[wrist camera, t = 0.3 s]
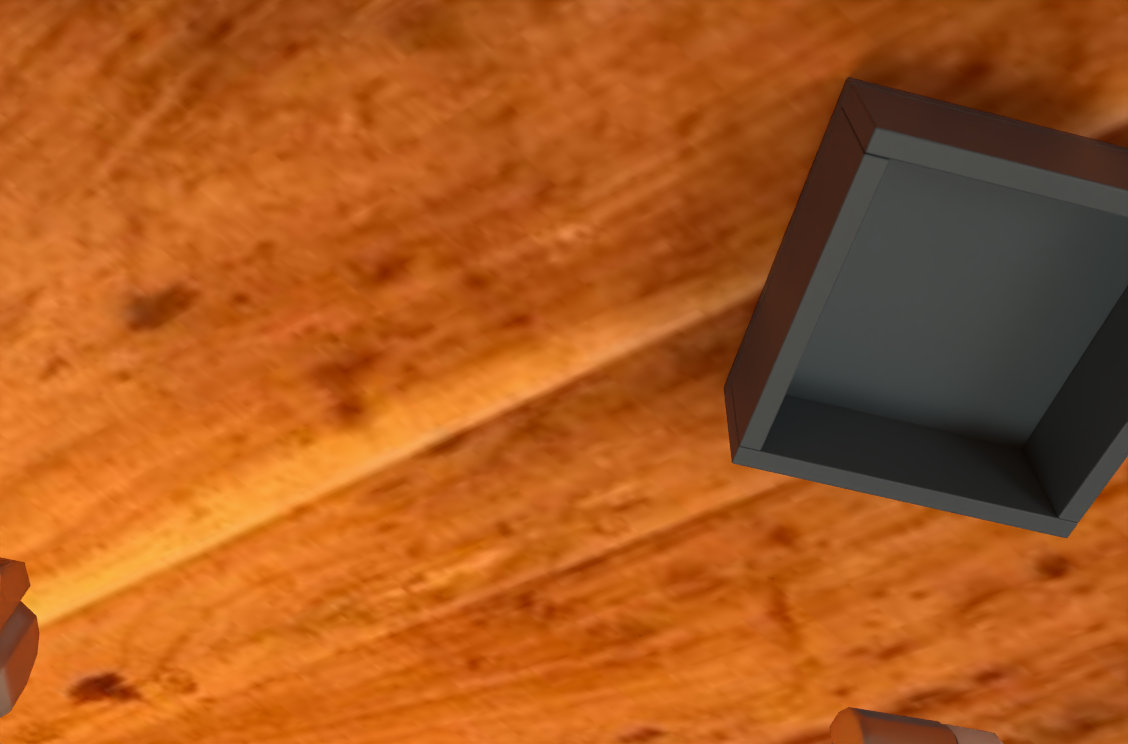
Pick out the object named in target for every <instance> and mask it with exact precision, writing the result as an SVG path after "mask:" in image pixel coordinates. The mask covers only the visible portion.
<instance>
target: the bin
mask: <svg viewBox="0 0 1128 744" xmlns="http://www.w3.org/2000/svg"><path fill="white" fill-rule="evenodd" d="M724 394H725V404H726V413H727V422H728V431H729V440H730V449H731V458H732V463H734V464H738V465H743V466H747V467H752V468H756V469H760V470H765V471H769V472H774V473H778V474H783V475H787V476H792V477H796V478H801V479H805V480H809V481H814V482H818V483H823V484H827V485H832V486H836V487H841V488H845V489H850V490H854V491H858V492H863V493H867V494H872V495H876V496H881V497H885V498H890V499H894V500H899V501H903V502H907V503H912V504H916V505H921V506H925V507H930V508H934V509H939V510H943V511H947V512H952V513H956V514H961V515H965V516H970V517H974V518H979V519H983V520H988V521H992V522H996V523H1001V524H1005V525H1010V526H1014V527H1019V528H1023V529H1028V530H1032V531H1037V532H1041V533H1045V534H1050V535H1054V536H1059V537H1063V538H1067V537H1068V536H1069V535H1070V533H1071V532H1072V531H1073V529H1074V528H1075V527H1076V525H1077V524H1078V522H1079V521H1080V520H1081V518H1082V517H1083V516H1084V514H1085V513H1086V512H1087V510H1088V509H1089V508H1090V506H1091V505H1092V503H1093V502H1094V501H1095V499H1096V498H1097V497H1098V495H1099V494H1100V493H1101V491H1102V490H1103V489H1104V487H1105V486H1106V485H1107V483H1108V482H1109V480H1110V479H1111V478H1112V476H1113V475H1114V474H1115V472H1116V471H1117V470H1118V468H1119V467H1120V466H1121V464H1122V463H1123V462H1124V460H1125V459H1126V457H1127V456H1128V148H1126V147H1122V146H1118V145H1114V144H1110V143H1106V142H1102V141H1098V140H1094V139H1090V138H1086V137H1082V136H1079V135H1075V134H1071V133H1067V132H1063V131H1059V130H1055V129H1051V128H1047V127H1043V126H1039V125H1035V124H1031V123H1027V122H1023V121H1019V120H1015V119H1012V118H1008V117H1004V116H1000V115H996V114H992V113H988V112H984V111H980V110H976V109H972V108H968V107H964V106H960V105H956V104H952V103H948V102H945V101H941V100H937V99H933V98H929V97H925V96H921V95H917V94H913V93H909V92H905V91H901V90H897V89H893V88H889V87H885V86H882V85H878V84H874V83H870V82H866V81H862V80H858V79H854V78H848V79H847V80H846V83H845V85H844V88H843V90H842V93H841V95H840V98H839V100H838V103H837V105H836V108H835V110H834V113H833V115H832V118H831V120H830V123H829V125H828V128H827V130H826V133H825V135H824V138H823V140H822V143H821V145H820V148H819V150H818V153H817V156H816V158H815V161H814V163H813V166H812V168H811V171H810V173H809V176H808V178H807V181H806V183H805V186H804V188H803V191H802V193H801V196H800V198H799V201H798V203H797V206H796V208H795V211H794V213H793V216H792V218H791V221H790V223H789V226H788V228H787V231H786V233H785V236H784V238H783V241H782V243H781V246H780V248H779V251H778V253H777V256H776V258H775V261H774V263H773V266H772V268H771V271H770V273H769V276H768V279H767V281H766V284H765V286H764V289H763V291H762V294H761V296H760V299H759V301H758V304H757V306H756V309H755V311H754V314H753V316H752V319H751V321H750V324H749V326H748V329H747V331H746V334H745V336H744V339H743V341H742V344H741V346H740V349H739V351H738V354H737V356H736V359H735V361H734V364H733V366H732V369H731V371H730V374H729V376H728V379H727V381H726V384H725V386H724Z"/></svg>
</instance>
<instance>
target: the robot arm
mask: <svg viewBox="0 0 1128 744" xmlns="http://www.w3.org/2000/svg"><path fill="white" fill-rule="evenodd" d="M29 587H30V582H29V578H28V574H27V570H26V566H25V563H24V562H20V561H15V560H10V559H5V558H0V718H1V717H2V716H4V715H5V714H7V713H9V712H10V711H11V710H12V708H13V706H14V705H15V703H16V701H17V700H18V698H19V696H20V695H21V693H22V691H23V690H24V688H25V686H26V685H27V682H28V679H29V676H30V673H31V670H32V668H33V665H34V662H35V659H36V656H37V651H38V641H39V628H38V623H37V617H36V615H35V614H34V613H33V612H32V611H31V610H30V609H28V608H27V607H26V606H25V605H24V604H23V603H22V602H21V601H20V600H21V599H22V597H23V596H24V594H25V593H26V591H27V590H28V588H29ZM830 732H831V738H832V743H833V744H1003V743H1002V742H1001V741H1000V739H999V738H998V737H997V736H996V734H995V733H991V732H987V731H983V730H977V729H970V728H964V727H958V726H952V725H946V724H941V723H940V722H937V721H931V720H925V719H919V718H913V717H907V716H900V715H894V714H888V713H882V712H876V711H870V710H864V709H857V708H851V707H848V708H846V709H844V710H842V711H840V712H839V713H838V714H837V716H836V718H835V719H834V721H833V722H832V724H831V725H830Z"/></svg>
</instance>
